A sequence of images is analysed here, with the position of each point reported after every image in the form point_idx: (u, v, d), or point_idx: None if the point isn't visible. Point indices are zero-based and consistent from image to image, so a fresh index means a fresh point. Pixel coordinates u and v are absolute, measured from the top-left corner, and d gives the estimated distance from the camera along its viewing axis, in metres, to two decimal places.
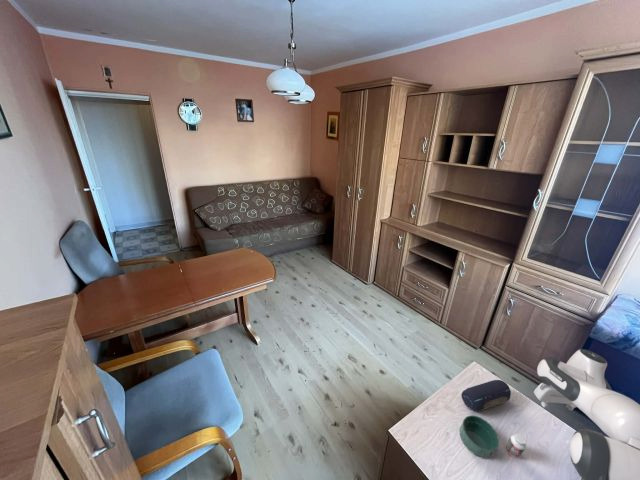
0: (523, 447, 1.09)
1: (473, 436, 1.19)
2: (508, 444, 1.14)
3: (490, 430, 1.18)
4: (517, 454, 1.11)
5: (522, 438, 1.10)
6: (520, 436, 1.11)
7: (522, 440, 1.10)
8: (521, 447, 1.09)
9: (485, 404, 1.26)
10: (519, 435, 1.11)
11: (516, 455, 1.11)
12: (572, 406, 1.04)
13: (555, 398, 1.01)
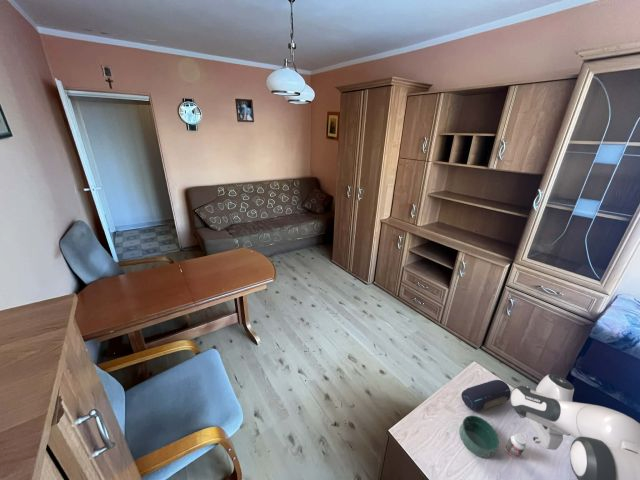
0: (523, 447, 1.09)
1: (473, 436, 1.19)
2: (508, 444, 1.14)
3: (490, 430, 1.18)
4: (517, 454, 1.11)
5: (522, 438, 1.10)
6: (520, 436, 1.11)
7: (522, 440, 1.10)
8: (521, 447, 1.09)
9: (485, 404, 1.26)
10: (519, 435, 1.11)
11: (516, 455, 1.11)
12: (536, 438, 1.02)
13: None
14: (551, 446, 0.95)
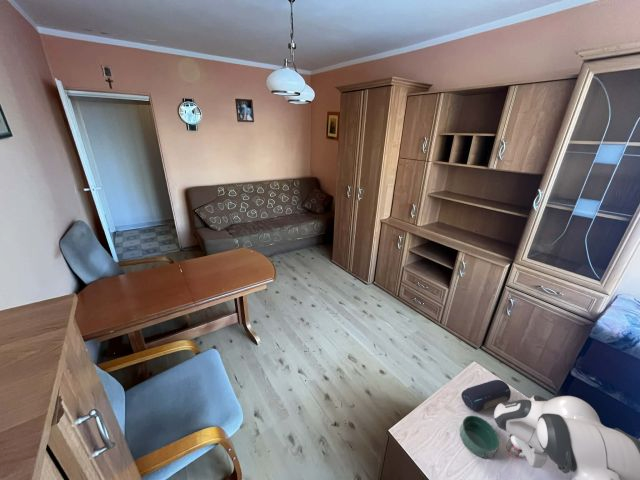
0: None
1: (473, 436, 1.19)
2: (508, 444, 1.14)
3: (490, 430, 1.18)
4: (517, 454, 1.11)
5: None
6: None
7: None
8: None
9: (485, 404, 1.26)
10: None
11: (516, 455, 1.11)
12: (521, 452, 1.09)
13: None
14: (536, 465, 1.01)
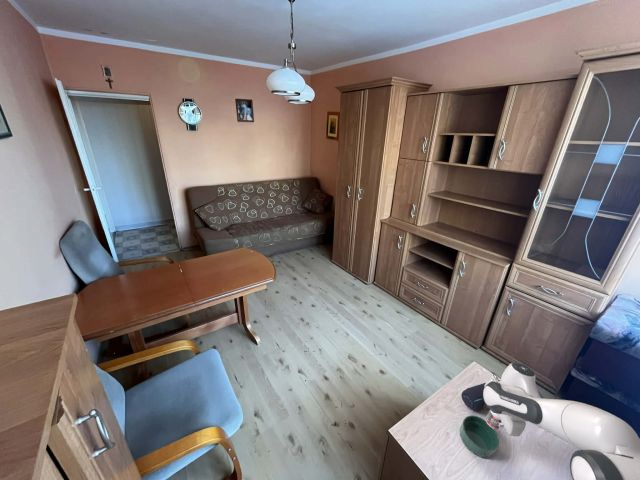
0: None
1: (473, 436, 1.19)
2: (488, 415, 1.10)
3: (490, 430, 1.18)
4: (497, 425, 1.08)
5: None
6: None
7: None
8: None
9: (485, 404, 1.26)
10: None
11: (496, 426, 1.08)
12: (500, 422, 1.05)
13: None
14: (514, 433, 0.97)
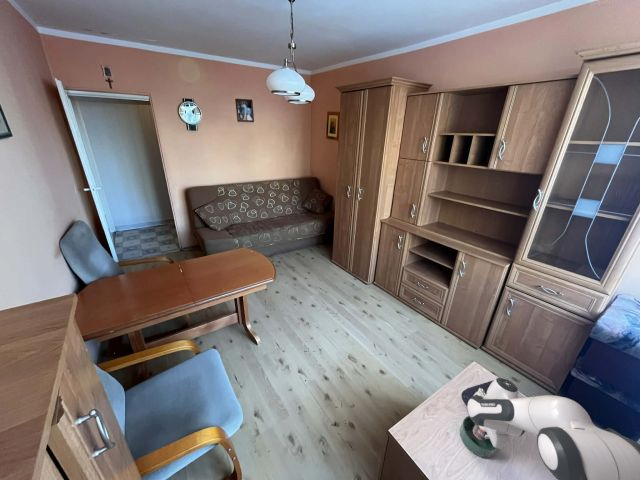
0: None
1: (473, 436, 1.19)
2: (475, 427, 1.15)
3: None
4: (483, 436, 1.12)
5: None
6: None
7: None
8: None
9: None
10: None
11: (482, 437, 1.13)
12: (486, 434, 1.10)
13: None
14: (498, 445, 1.02)
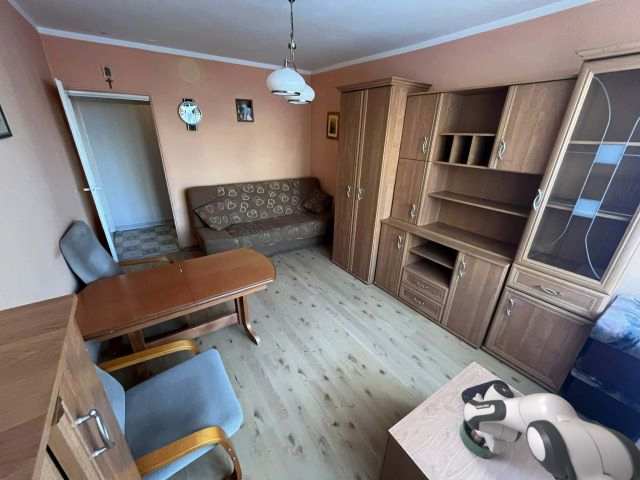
0: None
1: None
2: (472, 432, 1.17)
3: None
4: (480, 442, 1.14)
5: None
6: None
7: None
8: None
9: None
10: None
11: (479, 443, 1.14)
12: (485, 443, 1.10)
13: None
14: (496, 450, 1.04)
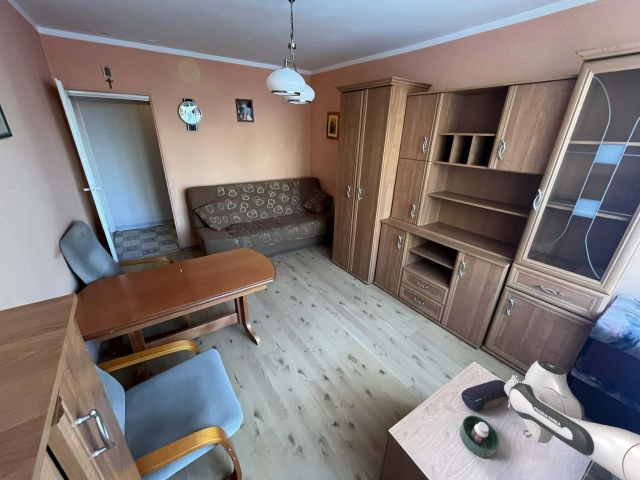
0: (485, 435, 1.12)
1: None
2: (472, 432, 1.17)
3: (490, 430, 1.18)
4: (480, 442, 1.14)
5: (485, 426, 1.13)
6: (483, 424, 1.14)
7: (485, 428, 1.13)
8: (484, 434, 1.12)
9: (485, 404, 1.26)
10: (482, 423, 1.14)
11: (479, 443, 1.14)
12: (527, 432, 0.93)
13: None
14: (542, 440, 0.87)
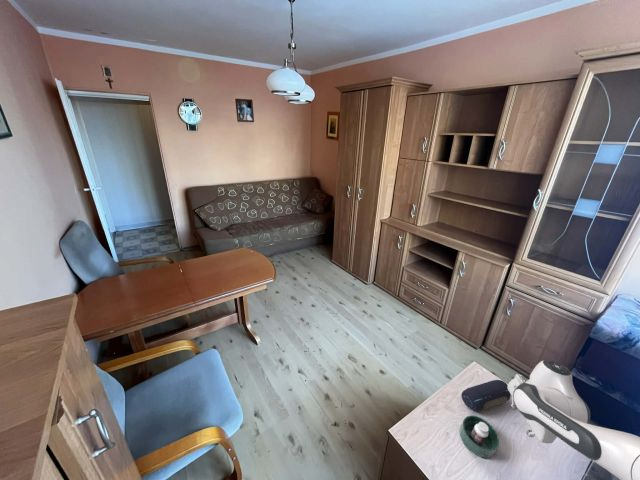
0: (485, 435, 1.12)
1: None
2: (472, 432, 1.17)
3: (490, 430, 1.18)
4: (480, 442, 1.14)
5: (485, 426, 1.13)
6: (483, 424, 1.14)
7: (485, 428, 1.13)
8: (484, 434, 1.12)
9: (485, 404, 1.26)
10: (482, 423, 1.14)
11: (479, 443, 1.14)
12: (530, 432, 0.92)
13: None
14: (546, 440, 0.86)
